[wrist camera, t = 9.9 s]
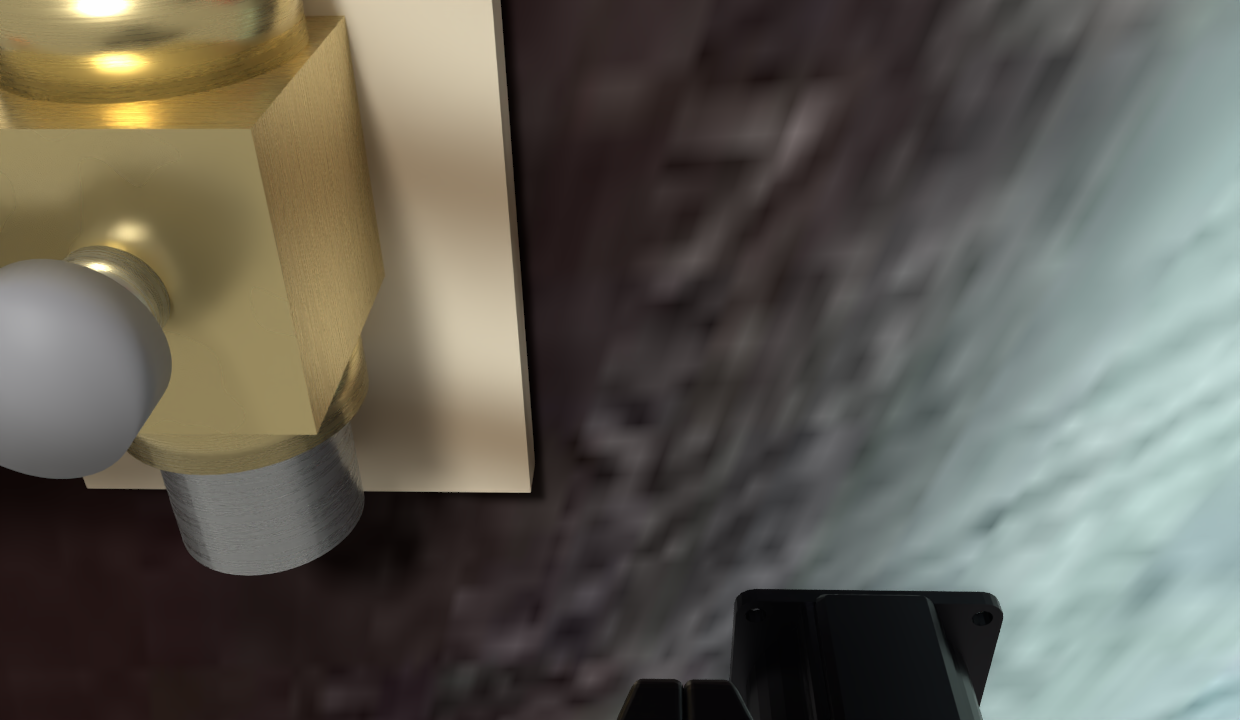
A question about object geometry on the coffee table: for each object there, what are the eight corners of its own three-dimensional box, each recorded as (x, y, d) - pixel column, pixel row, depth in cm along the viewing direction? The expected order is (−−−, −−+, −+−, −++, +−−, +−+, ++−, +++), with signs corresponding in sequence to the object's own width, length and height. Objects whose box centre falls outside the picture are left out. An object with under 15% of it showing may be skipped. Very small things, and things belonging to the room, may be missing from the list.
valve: (417, 442, 24) (346, 678, 18) (194, 440, 24) (59, 675, 18) (305, -301, 16) (123, -270, 10) (-26, -296, 16) (-373, -263, 11)
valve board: (535, 463, 25) (530, 492, 24) (106, 460, 25) (86, 488, 24) (472, -386, 16) (461, -387, 15) (-196, -375, 16) (-242, -375, 15)
